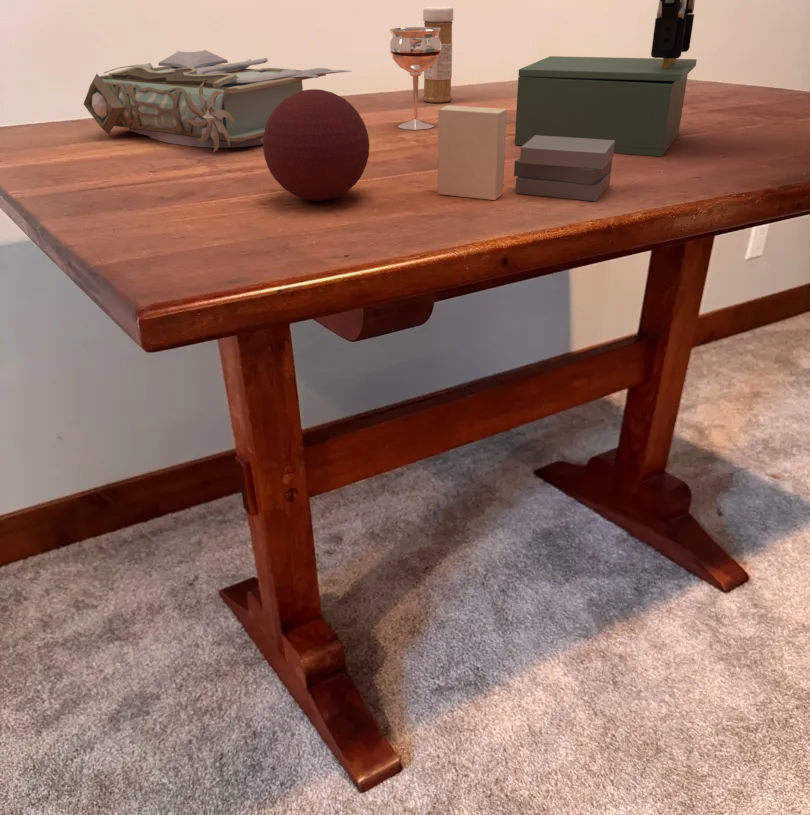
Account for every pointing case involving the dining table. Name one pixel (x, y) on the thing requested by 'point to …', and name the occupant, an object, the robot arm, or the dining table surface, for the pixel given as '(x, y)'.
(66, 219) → the dining table surface
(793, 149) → the dining table surface
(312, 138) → the decorative ball
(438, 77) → the sprinkles bottle
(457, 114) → the cream book
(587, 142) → the grey books
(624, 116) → the chest
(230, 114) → the ornate book
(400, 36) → the wineglass
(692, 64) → the lid
